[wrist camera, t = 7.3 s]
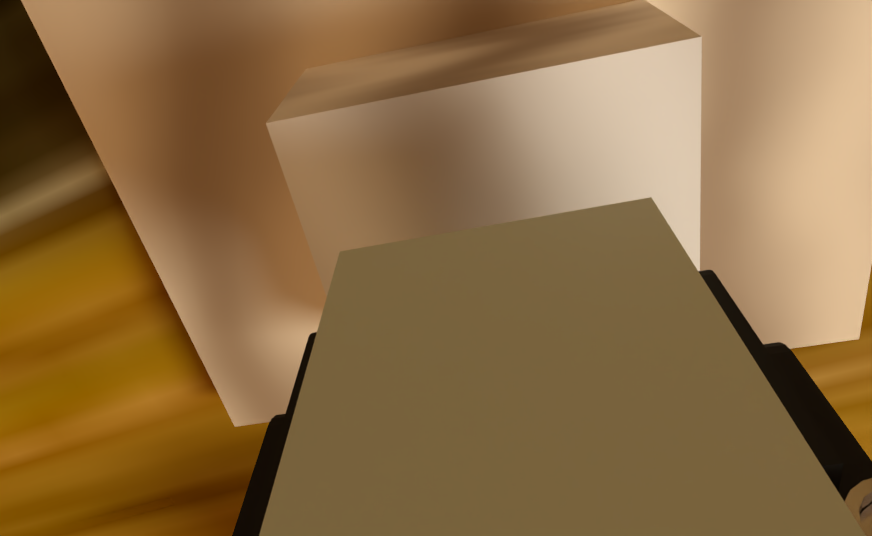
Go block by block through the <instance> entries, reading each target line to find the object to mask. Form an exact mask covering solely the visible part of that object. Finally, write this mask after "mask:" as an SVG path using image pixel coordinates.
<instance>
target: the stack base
mask: <svg viewBox="0 0 872 536" xmlns="http://www.w3.org/2000/svg"><path fill="white" fill-rule="evenodd" d="M21 1H22V3H23V5H24V7H25V9H26V11H27V13H28V15H29V17H30V19H31V21H32V23H33V25H34V27H35V29H36V31H37V33H38V35H39V37H40V39H41V41H42V43H43V45H44V47H45V49H46V51H47V53H48V55H49V57H50V59H51V61H52V63H53V65H54V67H55V69H56V71H57V73H58V75H59V77H60V79H61V81H62V83H63V85H64V87H65V89H66V91H67V93H68V95H69V97H70V99H71V101H72V103H73V105H74V107H75V109H76V111H77V113H78V115H79V117H80V119H81V121H82V123H83V125H84V127H85V129H86V131H87V133H88V135H89V137H90V139H91V141H92V143H93V145H94V147H95V149H96V151H97V153H98V155H99V157H100V159H101V161H102V163H103V165H104V167H105V169H106V171H107V173H108V175H109V177H110V179H111V181H112V183H113V185H114V187H115V189H116V191H117V193H118V195H119V197H120V199H121V201H122V203H123V205H124V207H125V209H126V211H127V213H128V215H129V217H130V219H131V221H132V223H133V225H134V227H135V229H136V231H137V233H138V235H139V236H140V238H141V240H142V242H143V244H144V246H145V248H146V250H147V252H148V254H149V256H150V258H151V260H152V262H153V264H154V266H155V268H156V270H157V272H158V274H159V276H160V278H161V280H162V282H163V284H164V286H165V288H166V290H167V292H168V294H169V296H170V298H171V300H172V302H173V304H174V306H175V308H176V310H177V312H178V314H179V316H180V318H181V320H182V322H183V324H184V326H185V328H186V330H187V332H188V334H189V336H190V338H191V340H192V342H193V344H194V346H195V348H196V350H197V352H198V354H199V356H200V358H201V360H202V362H203V364H204V366H205V368H206V370H207V372H208V374H209V376H210V378H211V380H212V382H213V384H214V386H215V388H216V390H217V392H218V394H219V396H220V398H221V400H222V402H223V404H224V406H225V408H226V410H227V412H228V414H229V416H230V418H231V420H232V422H233V424H234V426H235V427H236V426H244V425H251V424H258V423H265V422H270V421H271V419H272V418H273V417H274V416H275V415H279V414H286V410H287V407H288V404H289V400H290V397H291V394H292V390H293V387H294V384H295V380H296V377H297V374H298V370H299V367H300V364H301V360H302V357H303V354H304V350H305V347H306V344H307V340H308V337H309V335H310V334H311V333H314V332H317V330H318V327H319V323H320V320H321V316H322V312H323V309H324V305H325V302H326V298H327V295H328V291H329V288H330V284H331V281H332V277H333V274H334V270H335V267H336V263H337V260H338V256H339V253H340V251H345V250H351V249H357V248H362V247H368V246H374V245H380V244H385V243H391V242H397V241H403V240H408V239H414V238H420V237H426V236H431V235H437V234H443V233H449V232H454V231H460V230H466V229H471V228H477V227H483V226H489V225H494V224H500V223H506V222H512V221H517V220H523V219H529V218H535V217H540V216H546V215H552V214H558V213H563V212H569V211H575V210H581V209H586V208H592V207H598V206H604V205H609V204H615V203H621V202H627V201H632V200H638V199H644V198H650V197H651V198H652V199H653V201H654V202H655V204H656V205H657V207H658V209H659V210H660V212H661V213H662V215H663V216H664V218H665V220H666V221H667V223H668V224H669V226H670V227H671V229H672V231H673V232H674V234H675V235H676V237H677V239H678V240H679V242H680V243H681V245H682V246H683V248H684V250H685V251H686V253H687V254H688V256H689V257H690V259H691V261H692V262H693V264H694V265H695V267H696V268H697V270H698V271H703V270H713V272H714V273H715V274H716V275H717V277H718V278H719V280H720V281H721V283H722V284H723V286H724V287H725V289H726V290H727V292H728V293H729V295H730V296H731V298H732V299H733V300H734V302H735V303H736V305H737V306H738V308H739V309H740V311H741V312H742V314H743V315H744V317H745V318H746V320H747V321H748V323H749V324H750V326H751V327H752V329H753V330H754V332H755V333H756V335H757V336H758V337H759V339H760V340H761V342H762V343H763V344H769V343H776V342H781V343H783V344H785V345H786V346H787V347H788V348H789V349H791V348H798V347H805V346H812V345H819V344H827V343H834V342H841V341H848V340H855V339H859V336H860V330H861V324H862V318H863V312H864V306H865V300H866V294H867V288H868V282H869V276H870V271H871V265H872V0H21Z"/></svg>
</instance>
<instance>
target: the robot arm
mask: <svg viewBox="0 0 872 536" xmlns="http://www.w3.org/2000/svg"><path fill="white" fill-rule="evenodd" d="M698 272H699V273H700V275H701V276H702V278H703V280H704V281H705V283H706V284H707V286H708V287H709V289H710V291H711V292H712V294H713V295H714V297H715V298H716V300H717V302H718V303H719V305H720V306H721V308H722V309H723V311H724V313H725V314H726V316H727V317H728V319H729V321H730V322H731V324H732V325H733V327H734V328H735V330H736V332H737V333H738V335H739V336H740V338H741V339H742V341H743V343H744V344H745V346H746V347H747V349H748V351H749V352H750V354H751V355H752V357H753V358H754V360H755V362H756V363H757V365H758V366H759V368H760V369H761V371H762V373H763V374H764V376H765V377H766V379H767V380H768V382H769V384H770V385H771V387H772V388H773V390H774V392H775V393H776V395H777V396H778V398H779V399H780V401H781V403H782V404H783V406H784V407H785V409H786V410H787V412H788V414H789V415H790V417H791V418H792V420H793V421H794V423H795V425H796V426H797V428H798V429H799V431H800V433H801V434H802V436H803V437H804V439H805V440H806V442H807V444H808V445H809V447H810V448H811V450H812V451H813V453H814V455H815V456H816V458H817V459H818V461H819V462H820V464H821V466H822V467H823V469H824V470H825V472H826V474H827V475H828V477H829V478H830V480H831V481H832V483H833V485H834V486H835V488H836V489H837V491H838V492H839V494H840V496H841V497H842V499H843V500H844V502H845V504H846V505H847V507H848V508H849V510H850V511H851V513H852V515H853V516H854V518H855V519H856V521H857V522H858V524H859V526H860V527H861V529H862V530H863V532H864V533H865V535H866V536H872V461H871V460H870V458H869V457H868V456H867V454H866V453H865V452H864V450H863V449H862V447H861V446H860V445H859V443H858V442H857V440H856V439H855V438H854V436H853V435H852V434H851V432H850V431H849V429H848V428H847V427H846V425H845V424H844V423H843V421H842V420H841V418H840V417H839V416H838V414H837V413H836V412H835V410H834V409H833V407H832V406H831V405H830V403H829V402H828V401H827V399H826V398H825V396H824V395H823V394H822V392H821V391H820V390H819V388H818V387H817V385H816V384H815V383H814V381H813V380H812V379H811V377H810V376H809V374H808V373H807V372H806V370H805V369H804V367H803V366H802V365H801V363H800V362H799V361H798V359H797V358H796V356H795V355H794V354H793V352H792V351H791V350H790V349H789V348H788V347H787V346H786V345H785V344H783V343H781V342H776V343H769V344H763V343H762V342H761V340H760V339H759V337H758V336H757V335H756V333H755V332H754V330H753V329H752V327H751V326H750V324H749V323H748V321H747V320H746V318H745V317H744V315H743V314H742V312H741V311H740V309H739V308H738V306H737V305H736V303H735V302H734V300H733V299H732V298H731V296H730V295H729V293H728V292H727V290H726V289H725V287H724V286H723V284H722V283H721V281H720V280H719V278H718V277H717V275H716V274H715V273H714V272H713V270H703V271H698ZM316 334H317V332H314V333H311V334H310V335H309V337H308V340H307V344H306V347H305V350H304V354H303V357H302V360H301V364H300V367H299V370H298V374H297V377H296V380H295V384H294V387H293V390H292V394H291V397H290V400H289V404H288V407H287V410H286V414H279V415H275V416H274V417H273V418H272V419H271V421H270V423H269V425H268V428H267V431H266V434H265V437H264V440H263V443H262V446H261V449H260V452H259V455H258V459H257V462H256V465H255V468H254V471H253V474H252V477H251V480H250V483H249V486H248V489H247V492H246V495H245V498H244V502H243V505H242V508H241V511H240V514H239V517H238V520H237V523H236V526H235V529H234V532H233V535H232V536H259V534H260V531H261V527H262V524H263V520H264V517H265V513H266V510H267V506H268V503H269V499H270V496H271V492H272V488H273V485H274V481H275V478H276V474H277V471H278V467H279V464H280V460H281V457H282V453H283V450H284V446H285V443H286V439H287V436H288V432H289V429H290V425H291V422H292V418H293V415H294V411H295V408H296V404H297V400H298V397H299V393H300V390H301V386H302V383H303V379H304V376H305V372H306V369H307V365H308V362H309V358H310V355H311V351H312V348H313V344H314V341H315V337H316Z"/></svg>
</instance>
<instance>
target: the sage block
mask: <svg viewBox="0 0 872 536" xmlns="http://www.w3.org/2000/svg"><path fill="white" fill-rule="evenodd" d="M259 536H866V535H865V533H864V532H863V530H862V529H861V527H860V526H859V524H858V522H857V521H856V519H855V518H854V516H853V515H852V513H851V511H850V510H849V508H848V507H847V505H846V504H845V502H844V500H843V499H842V497H841V496H840V494H839V492H838V491H837V489H836V488H835V486H834V485H833V483H832V481H831V480H830V478H829V477H828V475H827V474H826V472H825V470H824V469H823V467H822V466H821V464H820V462H819V461H818V459H817V458H816V456H815V455H814V453H813V451H812V450H811V448H810V447H809V445H808V444H807V442H806V440H805V439H804V437H803V436H802V434H801V433H800V431H799V429H798V428H797V426H796V425H795V423H794V421H793V420H792V418H791V417H790V415H789V414H788V412H787V410H786V409H785V407H784V406H783V404H782V403H781V401H780V399H779V398H778V396H777V395H776V393H775V392H774V390H773V388H772V387H771V385H770V384H769V382H768V380H767V379H766V377H765V376H764V374H763V373H762V371H761V369H760V368H759V366H758V365H757V363H756V362H755V360H754V358H753V357H752V355H751V354H750V352H749V351H748V349H747V347H746V346H745V344H744V343H743V341H742V339H741V338H740V336H739V335H738V333H737V332H736V330H735V328H734V327H733V325H732V324H731V322H730V321H729V319H728V317H727V316H726V314H725V313H724V311H723V309H722V308H721V306H720V305H719V303H718V302H717V300H716V298H715V297H714V295H713V294H712V292H711V291H710V289H709V287H708V286H707V284H706V283H705V281H704V280H703V278H702V276H701V275H700V273H699V272H698V270H697V268H696V267H695V265H694V264H693V262H692V261H691V259H690V257H689V256H688V254H687V253H686V251H685V250H684V248H683V246H682V245H681V243H680V242H679V240H678V239H677V237H676V235H675V234H674V232H673V231H672V229H671V227H670V226H669V224H668V223H667V221H666V220H665V218H664V216H663V215H662V213H661V212H660V210H659V209H658V207H657V205H656V204H655V202H654V201H653V199H652V198H651V197H650V198H644V199H638V200H632V201H627V202H621V203H615V204H609V205H604V206H598V207H592V208H586V209H581V210H575V211H569V212H563V213H558V214H552V215H546V216H540V217H535V218H529V219H523V220H517V221H512V222H506V223H500V224H494V225H489V226H483V227H477V228H471V229H466V230H460V231H454V232H449V233H443V234H437V235H431V236H426V237H420V238H414V239H408V240H403V241H397V242H391V243H385V244H380V245H374V246H368V247H362V248H357V249H351V250H345V251H340V253H339V256H338V260H337V263H336V267H335V270H334V274H333V277H332V281H331V284H330V288H329V291H328V295H327V298H326V302H325V305H324V309H323V312H322V316H321V320H320V323H319V327H318V330H317V334H316V337H315V341H314V344H313V348H312V351H311V355H310V358H309V362H308V365H307V369H306V372H305V376H304V379H303V383H302V386H301V390H300V393H299V397H298V400H297V404H296V408H295V411H294V415H293V418H292V422H291V425H290V429H289V432H288V436H287V439H286V443H285V446H284V450H283V453H282V457H281V460H280V464H279V467H278V471H277V474H276V478H275V481H274V485H273V488H272V492H271V496H270V499H269V503H268V506H267V510H266V513H265V517H264V520H263V524H262V527H261V531H260V534H259Z"/></svg>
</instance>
